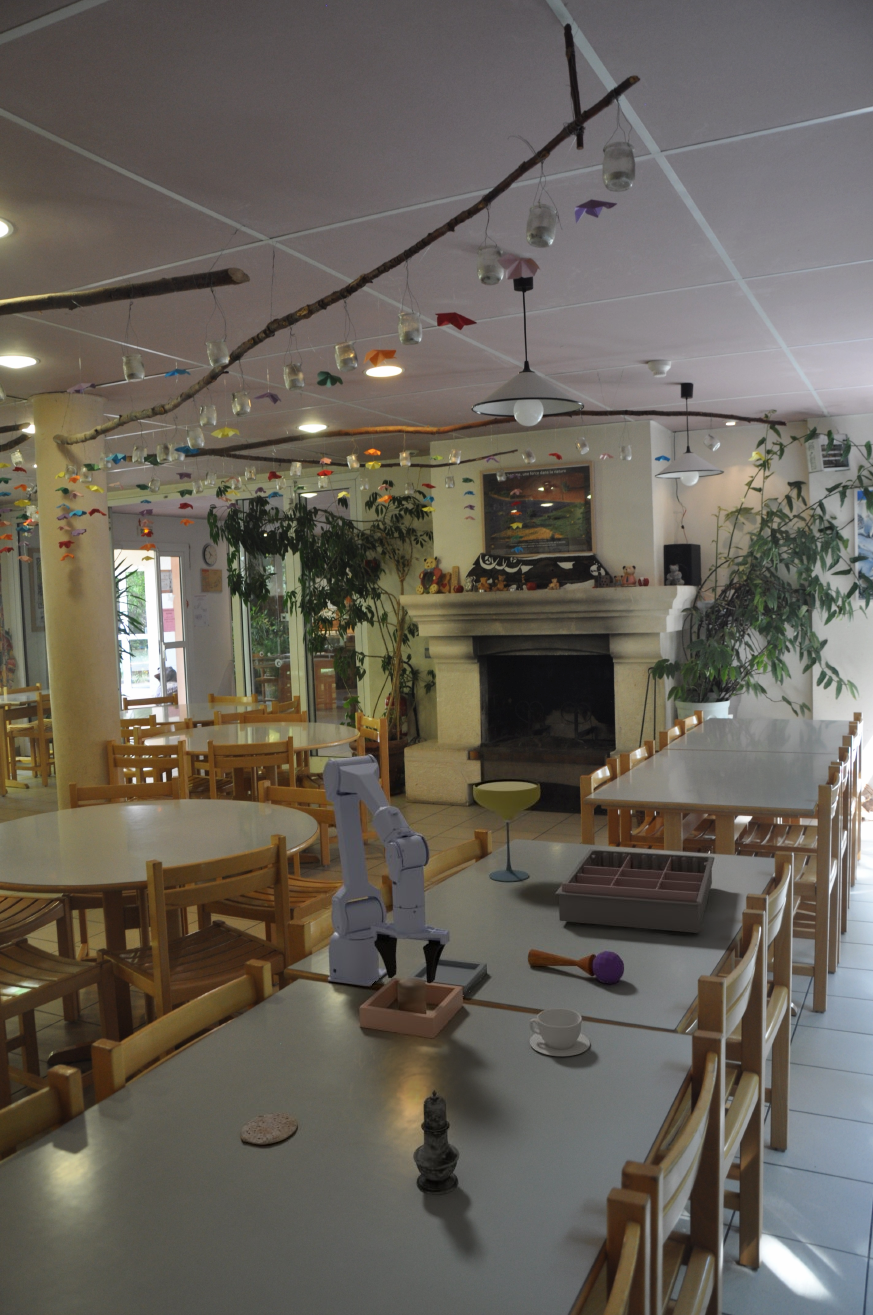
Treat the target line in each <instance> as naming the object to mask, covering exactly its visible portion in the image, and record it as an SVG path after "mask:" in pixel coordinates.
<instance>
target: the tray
mask: <svg viewBox="0 0 873 1315" xmlns="http://www.w3.org/2000/svg"><path fill="white" fill-rule="evenodd" d="M487 973H488V964H487V962H483V961H482V962H480V961H472V960H465V959H456V958H448V957H441V956H440V959H439V962H438V966H437V970H436V976H435V980H434V981H433V982H432V983H438V984H445V985H453V986H460V987H462V989H463V995H464V996H463V997H467V996H468V995H469V993H470V992H471V991H472V990H473V989H474V988H475V987H476V986H477V985H478V983H480V981H481V980H482V979H483V978H484V977H485V976H486V975H487ZM485 974H486V975H485ZM484 975H485V976H484ZM483 976H484V977H483ZM482 977H483V978H482ZM407 978H419V979H422V980H424V981H425V982H427V978H426V961H424V962H423V963H422V964H421V965H420V966H419V967H418V968H416V969H415V971H413V972H412V973H411V974H410V975H409V976H407ZM481 978H482V979H481ZM480 979H481V980H480ZM477 982H478V983H477ZM475 985H476V986H475ZM474 986H475V987H474ZM473 987H474V988H473ZM472 988H473V989H472ZM471 989H472V990H471ZM470 990H471V991H470ZM469 991H470V992H469Z"/></svg>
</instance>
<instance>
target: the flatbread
mask: <svg viewBox="0 0 873 1315" xmlns="http://www.w3.org/2000/svg"><path fill="white" fill-rule="evenodd" d="M298 1124H299V1123H298V1120H297V1119H296V1118H294V1117H293V1116H291V1115H288V1114H285V1113H282V1112H281V1113H280V1112H276V1113H267V1114H266V1113H265V1114H262V1115H257V1116H255V1117H254V1118H252V1119H251V1120H250V1121H248V1122H247V1123H246V1124H245V1125H243V1127H242V1128H241V1130H240V1136H241V1141H242V1142H245V1143H249V1144H253V1145H260V1146H261V1145H262V1146H265V1145H271V1144H275V1143H279V1142H282V1141H284V1140H286V1139H287V1138H289V1137H290V1136H291V1135H293V1134H294V1133H295V1132H296V1130H297V1128H298Z"/></svg>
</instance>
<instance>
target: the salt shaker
mask: <svg viewBox="0 0 873 1315" xmlns="http://www.w3.org/2000/svg"><path fill="white" fill-rule="evenodd" d="M422 1108H423V1122H422V1123H421V1126H420V1128H421V1130H422V1131H423V1144H421V1145H419V1146H418V1147H417V1148H416V1149H415V1150H414V1152H413V1156H412V1159H413V1161H414V1162H415V1166H416V1168H417V1170H418V1172H419V1175H418V1176H417V1179H416V1183H415V1184H416V1187H417V1188H418V1190H420V1191H421V1192H422V1193H425V1194H427V1195H432V1196H439V1195H441V1196H442V1195H446V1194H448V1193H450V1192H452V1191H454V1190H455V1189H457V1187H458V1184H459V1179H458V1177H457V1175H456V1173H454V1172H455V1170H456V1167H457V1164H458V1161H459V1158H460V1152H459V1149H458V1148H457V1147H456V1146H454V1145H453V1144H451V1143H449V1139H448V1138H449V1136H448V1130H449V1129H450V1126H451V1124H450V1122H449V1121H448V1120H447V1103H446V1099H445V1098H444V1097H442V1096H440V1095H439V1094H438V1092H437V1091H436V1089H433V1090H432V1092H431V1095H428V1096H427V1097H426V1098H425V1099H424V1101H423V1107H422Z"/></svg>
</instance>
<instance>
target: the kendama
mask: <svg viewBox="0 0 873 1315" xmlns="http://www.w3.org/2000/svg"><path fill="white" fill-rule="evenodd" d="M527 963H528V965H529V966H530V967H577V968H579V969H580V970H581V971H583V972H584V973H586V974H587V975H588V976H590V977H594V976H595V978H596V979H597V980H598V981H600V982H602V983H604V984H610V985H611V984H615V983H617V982H619V980H621V978H623V976H624V972H625V963H624V961H623V960H622V958H621V957H620V955H619V954H617V952H614V951H610V950H609V951H608V950H604V951H602V952H599V953H598V954H597V955H596V954H595V953H594V954H593V953H592V954H590V955H587V956H585V957H582V958H580V959H577V960H576V959H573V958H569V957H565V956H561V955H558V954H553V953H549V952H547V951H542V950H538V949H534V948H531V949H530V950H529V952H528V955H527Z"/></svg>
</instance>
